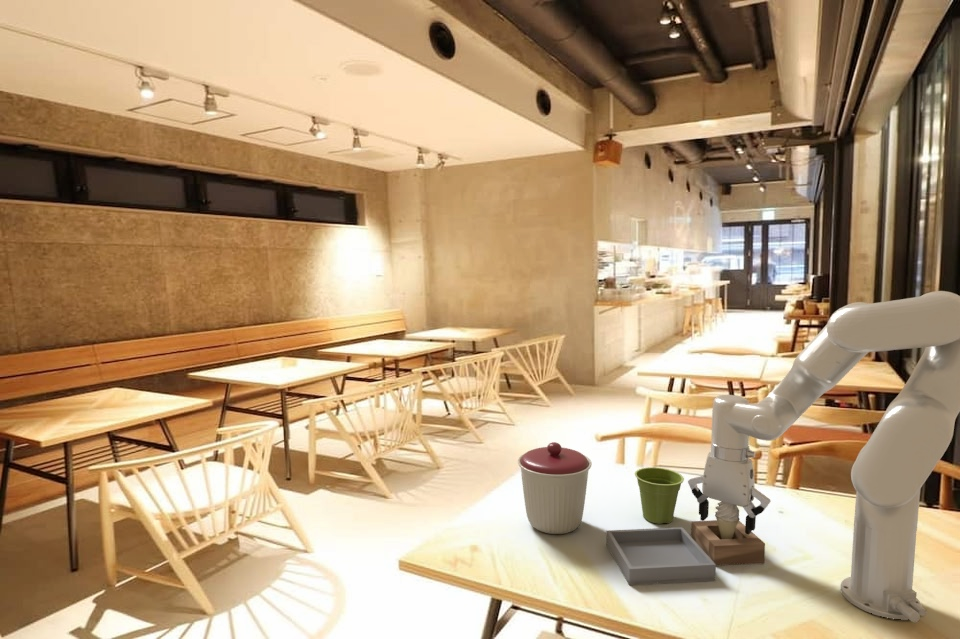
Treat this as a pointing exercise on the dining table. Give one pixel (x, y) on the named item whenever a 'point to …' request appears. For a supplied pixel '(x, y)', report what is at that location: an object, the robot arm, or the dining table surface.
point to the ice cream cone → (727, 519)
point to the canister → (554, 487)
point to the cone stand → (728, 544)
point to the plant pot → (658, 493)
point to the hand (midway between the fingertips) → (726, 525)
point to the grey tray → (659, 556)
